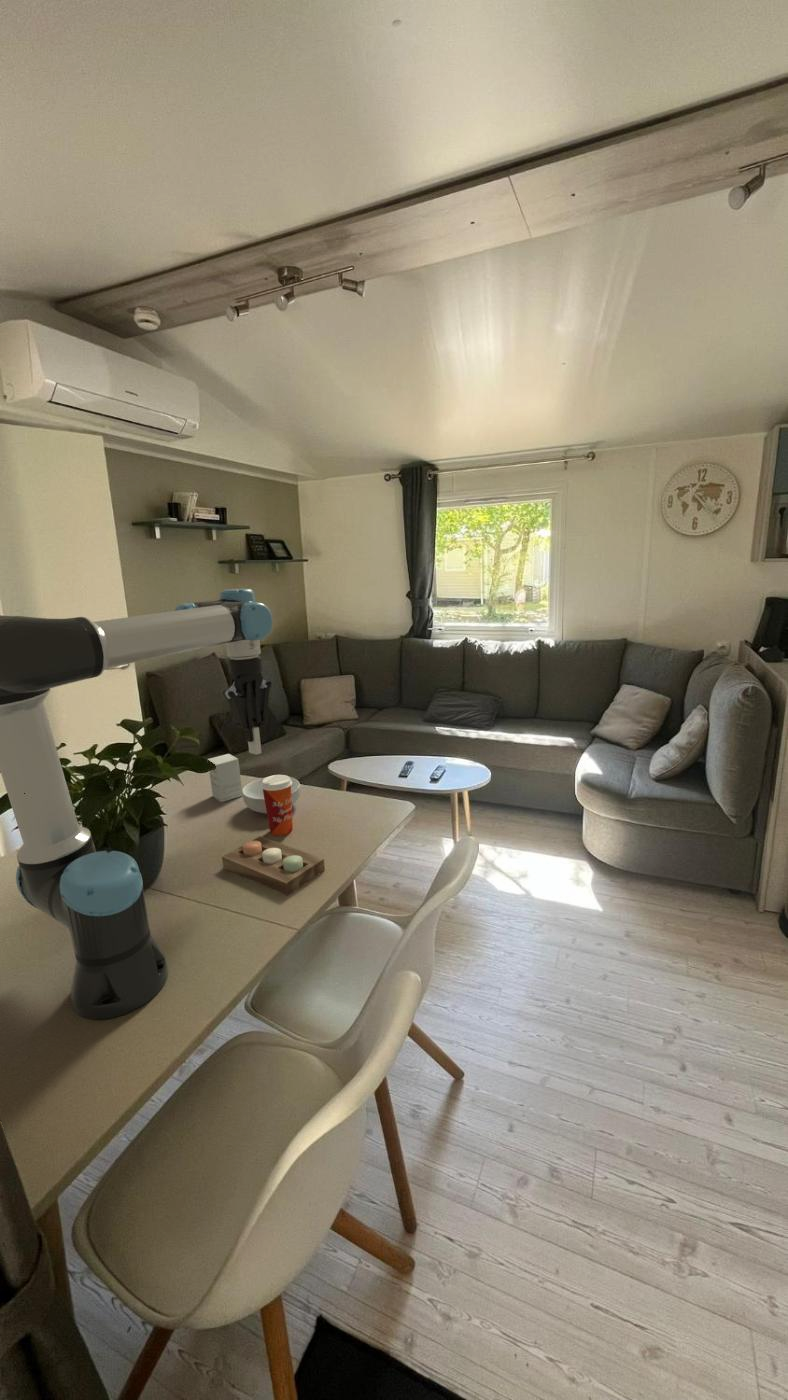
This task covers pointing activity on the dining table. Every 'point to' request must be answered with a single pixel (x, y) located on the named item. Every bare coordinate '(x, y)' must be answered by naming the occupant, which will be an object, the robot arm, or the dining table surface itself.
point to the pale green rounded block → (293, 863)
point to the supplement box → (225, 778)
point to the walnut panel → (274, 867)
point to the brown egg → (252, 848)
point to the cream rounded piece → (272, 856)
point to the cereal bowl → (256, 797)
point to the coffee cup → (278, 803)
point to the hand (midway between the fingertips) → (255, 752)
